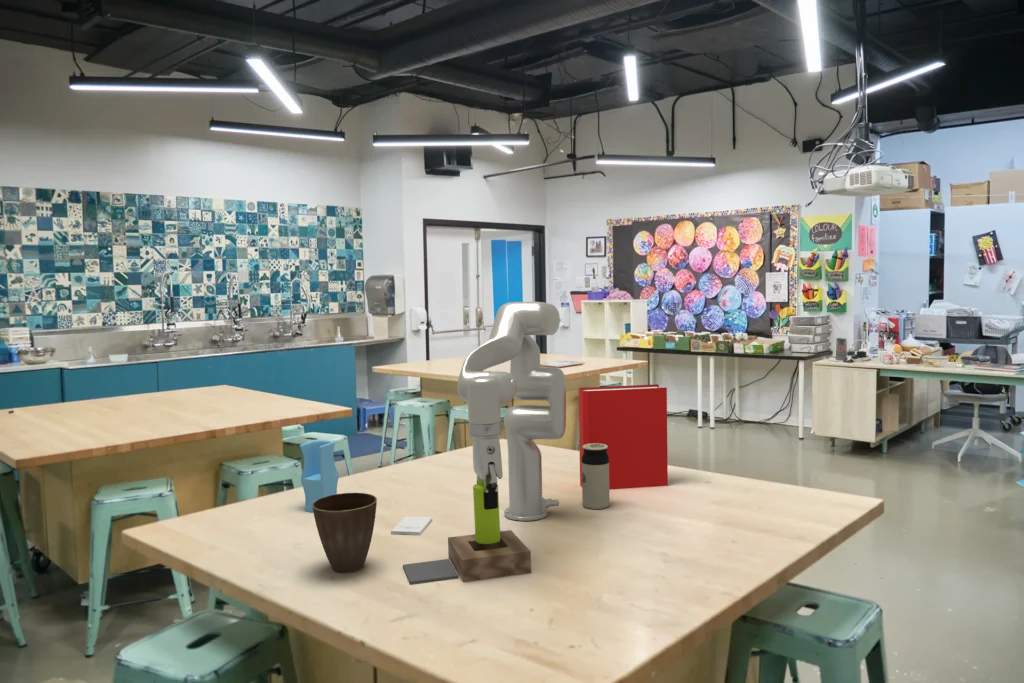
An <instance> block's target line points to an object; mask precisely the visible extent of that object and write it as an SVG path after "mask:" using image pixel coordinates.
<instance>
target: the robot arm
mask: <svg viewBox="0 0 1024 683" xmlns="http://www.w3.org/2000/svg"><path fill="white" fill-rule="evenodd" d="M560 321H561V318H560V312H559V310H558V308H557V307H556V305H554V304H551V303H548V302H543V301H511V302H506V303H504V304H502V305H501V306H500V307H499V308H498V309H497V312H496V315H495V318H494V322H493V323H492V324H493V325H492V328H491V331H490V334H489V339H488V340H486V341H484V342H483V343H481V344H480V345H479V346H477V347H476V348H475V349H474V350H472V351H471V352H470V353H469V354H468V355H467V356H466V357H465V359H464V361H463V363H462V367H461V370H460V373H459V376H458V380H457V393H458V396H459V398H460V399H461V400H463V401H464V402H466V403H467V408H468V409H467V411H468V412H467V414H468V437H470V438H471V439H472V465H473V470H474V471H473V472H474V473H475V474H476V484H478V476H479V477H480V478H481V479H482V480H484V488H485V492H484V509H485V510H488V509H496V508H498V497H499V489H498V490H497V484H498V479H499V480H500V479H502V478H503V475H504V474H503V464H502V463H503V462H502V461H503V460H502V451H501V444H500V442H501V441H500V437H501V435H502V421H501V420H502V419H501V418H502V417H501V416H502V415H501V414H502V412H501V404H505V403H509V402H510V401H512V400H513V399H515V400H519V401H520V400H521V401H538V402H539V401H541V402H542V401H546V402H548V405H537V404H536V405H533V404H520V405H519V404H518V405H517V404H516V405H514V406H513V405H512V406H510V407H509V408H507V409H506V411H505V412H504V416H503V424H504V429H505V430H504V431H505V435H506V442H507V456H508V458H507V460H508V463H507V464H508V466H507V467H508V494H509V495H508V496H509V498H508V499H509V504H508V505H509V506H508V507H506V509H504V510H503V512H504V513H503V515H504V517H505V518H507V519H509V520H512V521H519V522H526V521H527V522H529V521H530V522H531V521H537V520H541V519H544V518H546V517H548V515H549V510H548V509H549V508H550V507H558V506H560V501H559V499H552V498H544V497H543V469H542V467H543V466H542V461H543V460H542V453H541V450H540V448H539V446H538V445H537V443H536V442H535V441H534V440H547V441H550V440H552V441H553V440H560V439H561V438H563V437H564V435H565V432H566V428H567V427H566V426H567V424H566V423H567V382H566V380H567V379H566V376H565V373H564V370H562V369H561V368H558V367H554V366H546V367H545V366H541V350H540V346H539V345H538V344H537V342H536V341H535V340H534V338H533V337H532V336H552V335H555V334H556V333H557V332H558V330H559V327H560V324H561V322H560ZM509 361H510V368H509V369H510V370H509V371H510V372H507V371H491V370H489V371H488V370H487V369H490V368H492V367H495V366H498V365H501V364H504V363H506V362H509ZM486 370H487V371H486ZM488 476H490V479H487V478H486V477H488ZM487 482H490V483H489V484H488V485H487Z"/></svg>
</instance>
